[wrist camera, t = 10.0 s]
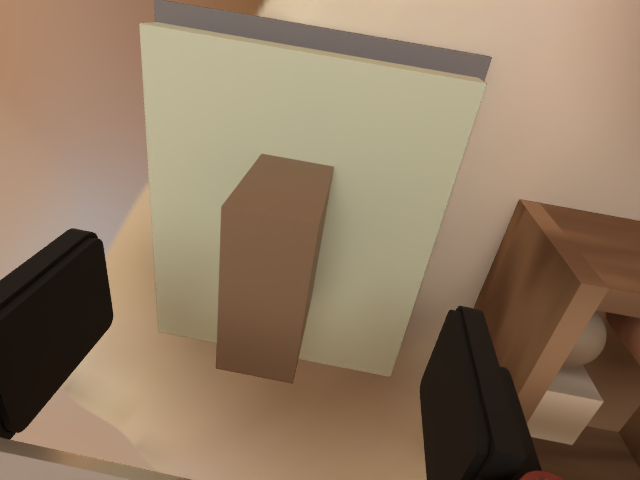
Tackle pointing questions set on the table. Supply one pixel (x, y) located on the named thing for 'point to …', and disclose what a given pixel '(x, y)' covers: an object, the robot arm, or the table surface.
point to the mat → (322, 38)
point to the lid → (294, 195)
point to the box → (571, 336)
